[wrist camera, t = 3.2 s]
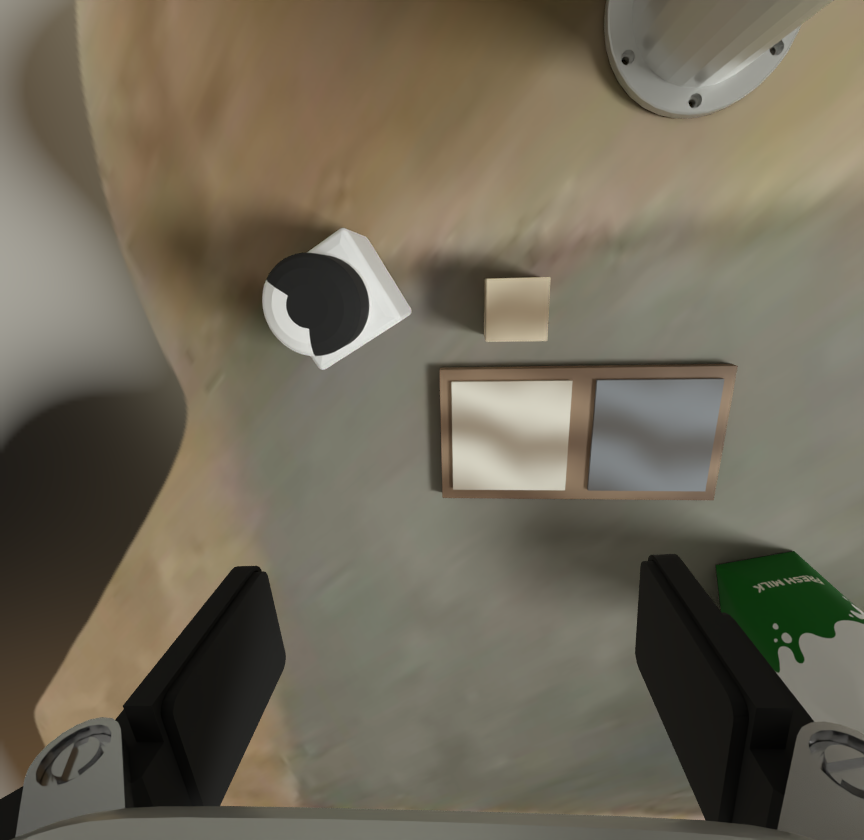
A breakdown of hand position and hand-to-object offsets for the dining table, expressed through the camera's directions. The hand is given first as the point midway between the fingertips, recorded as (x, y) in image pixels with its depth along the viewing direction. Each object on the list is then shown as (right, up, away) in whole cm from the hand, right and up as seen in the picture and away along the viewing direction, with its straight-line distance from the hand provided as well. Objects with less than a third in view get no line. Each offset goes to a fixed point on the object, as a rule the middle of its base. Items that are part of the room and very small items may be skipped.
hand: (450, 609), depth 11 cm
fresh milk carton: (+31, -12, +32) cm, 46 cm away
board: (+12, +4, +29) cm, 31 cm away
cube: (+6, +14, +26) cm, 30 cm away
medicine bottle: (-7, +15, +27) cm, 31 cm away
